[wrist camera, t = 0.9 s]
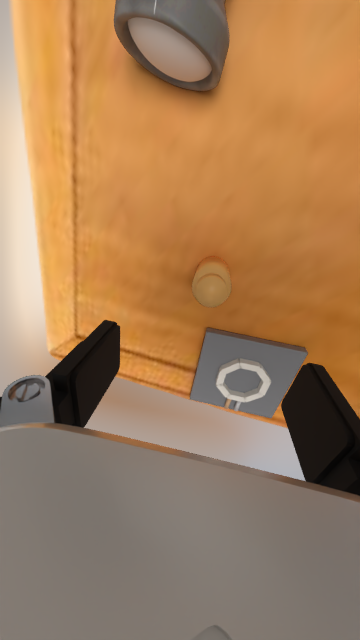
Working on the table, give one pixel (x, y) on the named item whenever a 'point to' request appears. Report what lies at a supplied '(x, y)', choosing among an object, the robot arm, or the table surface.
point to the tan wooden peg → (212, 282)
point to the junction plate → (245, 372)
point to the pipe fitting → (176, 39)
